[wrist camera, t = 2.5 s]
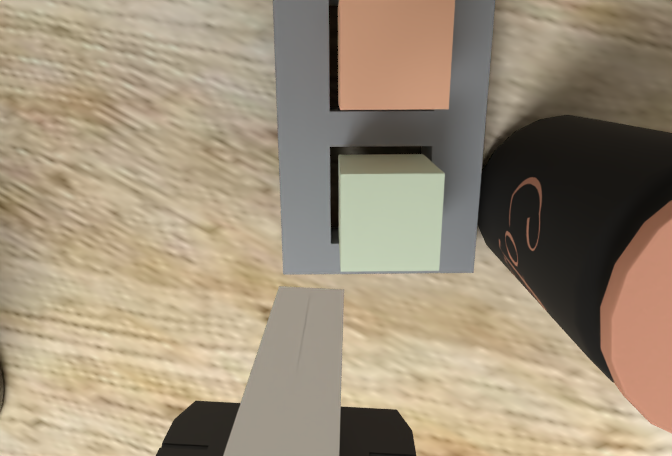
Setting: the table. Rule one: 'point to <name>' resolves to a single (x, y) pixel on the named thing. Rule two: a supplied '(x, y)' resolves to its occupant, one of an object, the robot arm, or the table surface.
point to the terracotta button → (394, 54)
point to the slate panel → (374, 135)
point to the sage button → (389, 212)
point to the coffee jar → (592, 242)
